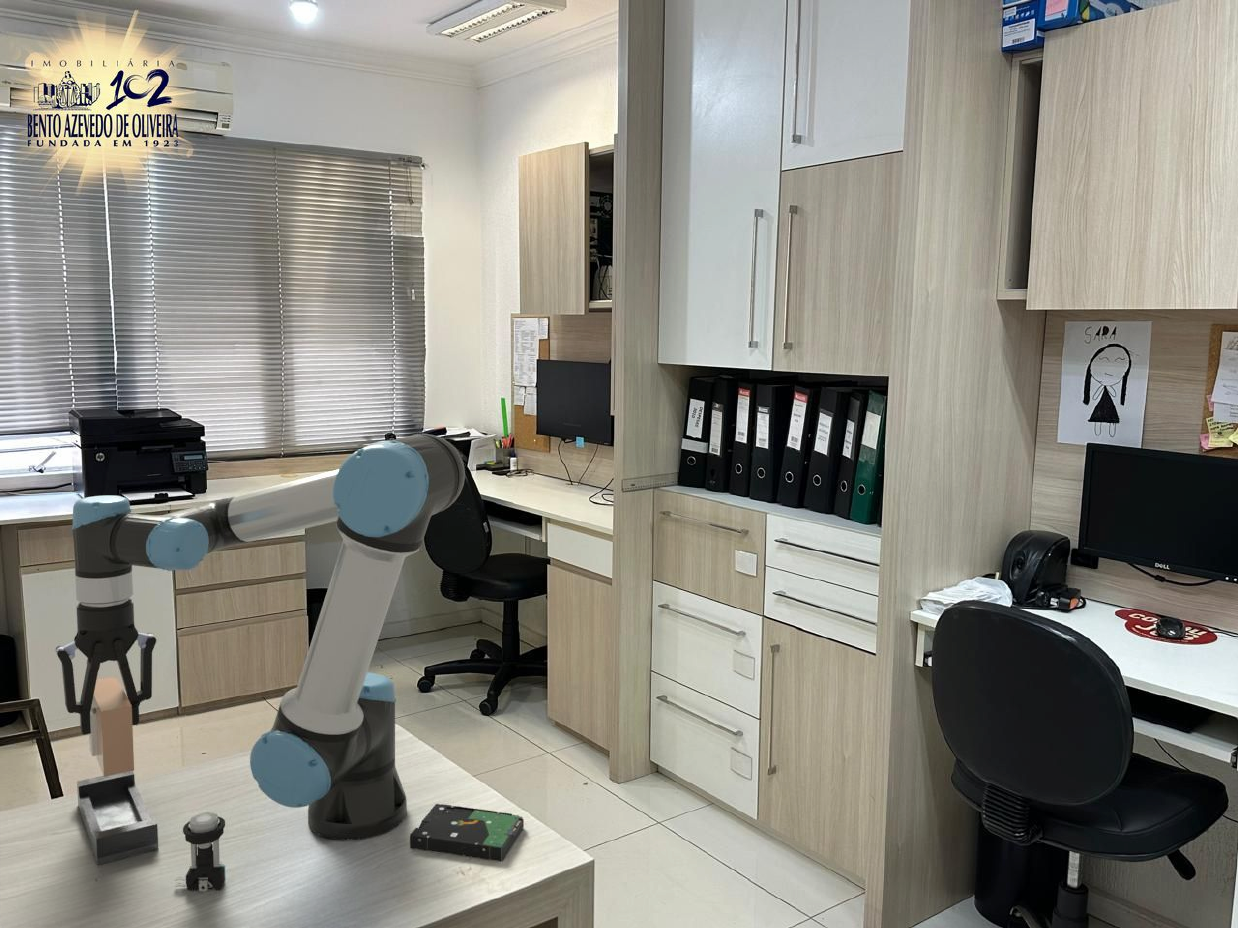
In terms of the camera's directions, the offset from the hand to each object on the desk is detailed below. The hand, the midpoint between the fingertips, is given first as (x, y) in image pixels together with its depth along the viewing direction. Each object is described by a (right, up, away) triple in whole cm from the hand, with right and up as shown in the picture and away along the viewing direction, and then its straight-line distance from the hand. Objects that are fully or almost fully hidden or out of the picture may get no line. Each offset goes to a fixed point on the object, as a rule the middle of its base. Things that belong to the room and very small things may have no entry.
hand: (111, 748), depth 149 cm
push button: (+19, -15, -14) cm, 28 cm away
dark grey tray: (0, -12, +2) cm, 13 cm away
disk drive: (+54, -15, +1) cm, 56 cm away
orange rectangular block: (0, -1, 0) cm, 1 cm away
